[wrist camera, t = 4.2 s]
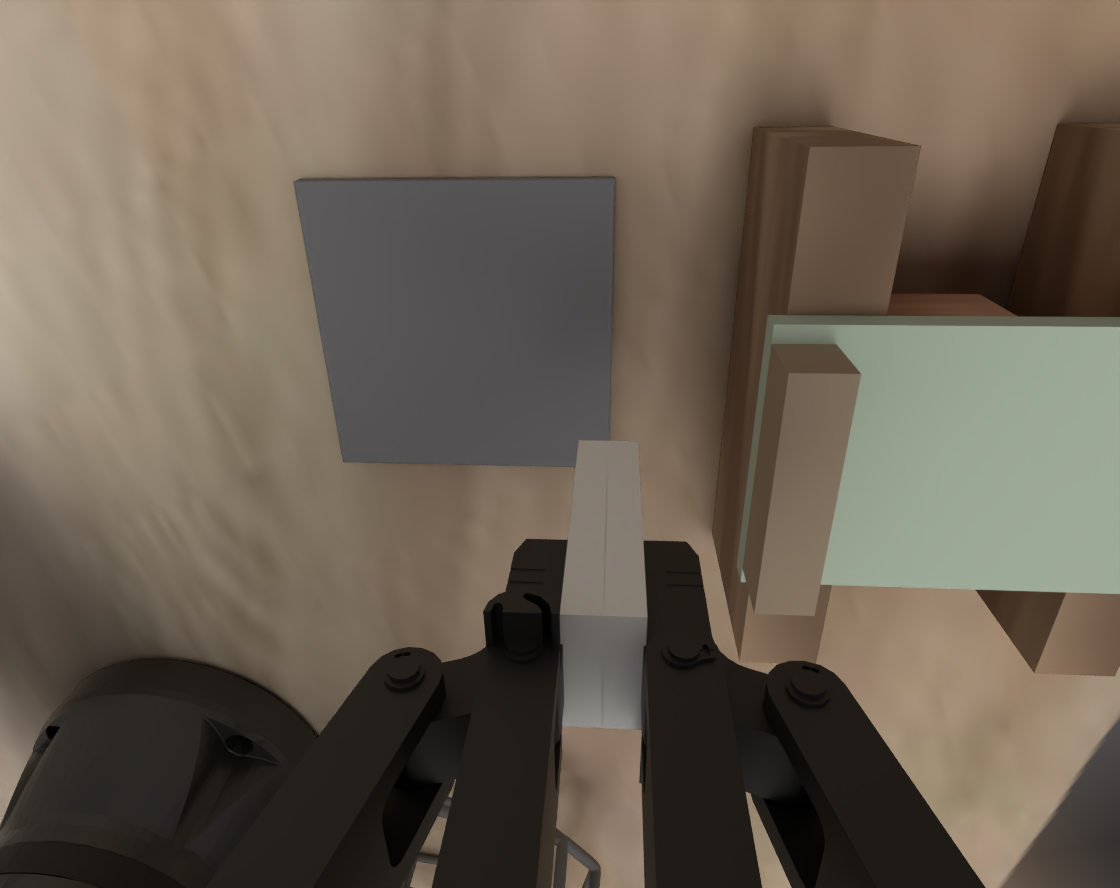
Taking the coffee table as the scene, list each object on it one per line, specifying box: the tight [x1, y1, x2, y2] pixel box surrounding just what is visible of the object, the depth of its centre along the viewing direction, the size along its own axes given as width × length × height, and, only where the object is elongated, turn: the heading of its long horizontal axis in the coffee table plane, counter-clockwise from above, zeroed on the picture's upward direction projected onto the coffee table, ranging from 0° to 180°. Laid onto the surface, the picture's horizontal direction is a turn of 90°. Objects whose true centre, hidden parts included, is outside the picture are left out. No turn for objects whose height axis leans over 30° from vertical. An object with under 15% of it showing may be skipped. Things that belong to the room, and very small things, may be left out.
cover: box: [737, 315, 1120, 616], centre depth 18 cm, size 13×8×3 cm, turn 91°
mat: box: [293, 177, 615, 467], centre depth 27 cm, size 11×11×1 cm
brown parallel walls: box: [712, 123, 1120, 676], centre depth 23 cm, size 12×16×8 cm
